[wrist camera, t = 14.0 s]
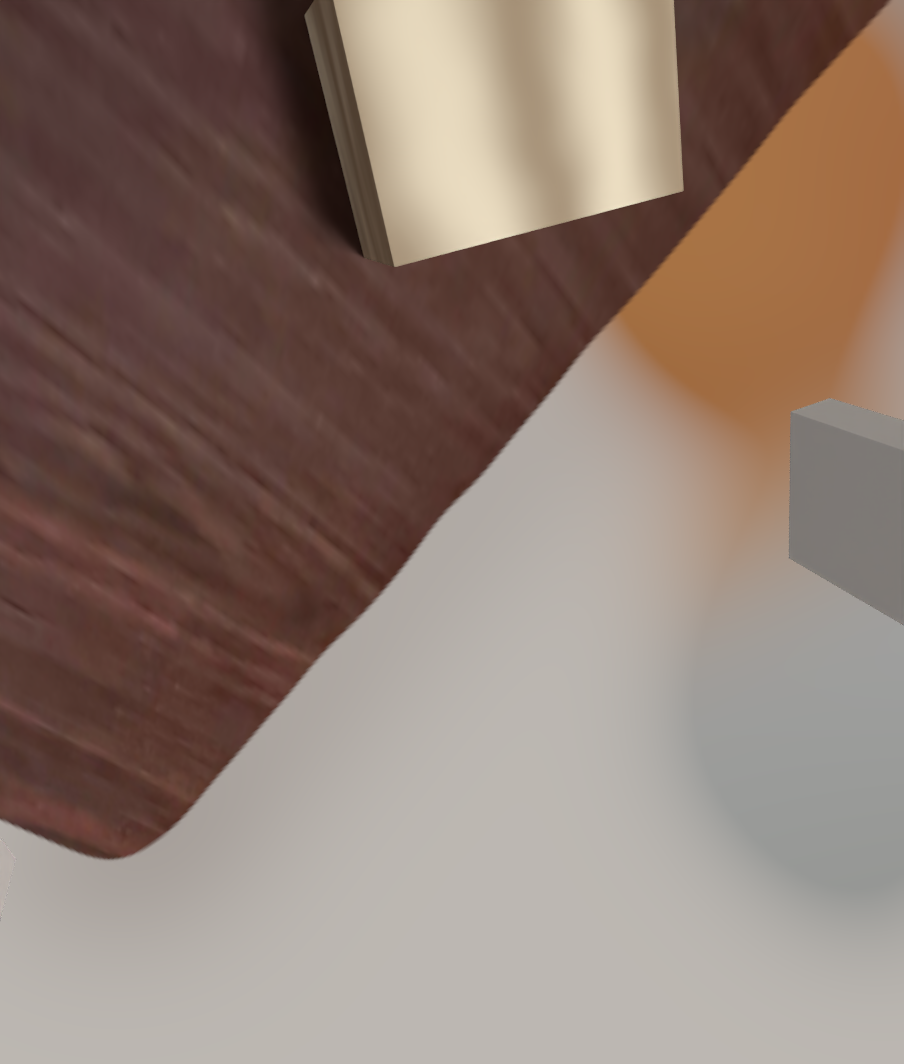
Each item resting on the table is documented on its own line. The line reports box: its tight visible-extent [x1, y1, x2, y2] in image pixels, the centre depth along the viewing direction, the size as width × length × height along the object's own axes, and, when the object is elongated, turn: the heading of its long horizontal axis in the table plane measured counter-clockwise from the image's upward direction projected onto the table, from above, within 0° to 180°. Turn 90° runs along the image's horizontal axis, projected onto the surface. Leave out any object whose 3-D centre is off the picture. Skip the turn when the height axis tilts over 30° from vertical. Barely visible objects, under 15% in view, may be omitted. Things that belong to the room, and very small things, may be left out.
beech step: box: [304, 0, 683, 267], centre depth 33 cm, size 14×10×6 cm
